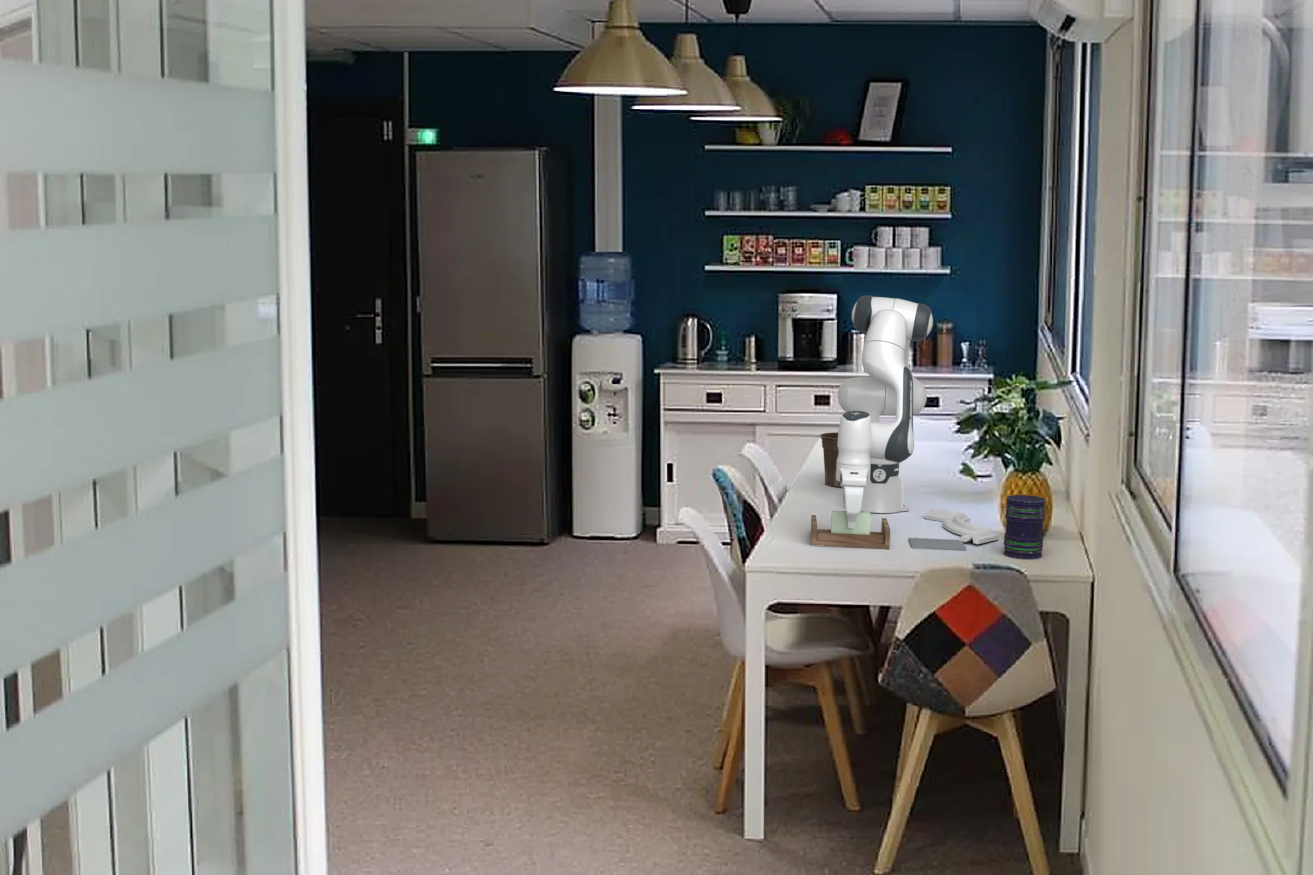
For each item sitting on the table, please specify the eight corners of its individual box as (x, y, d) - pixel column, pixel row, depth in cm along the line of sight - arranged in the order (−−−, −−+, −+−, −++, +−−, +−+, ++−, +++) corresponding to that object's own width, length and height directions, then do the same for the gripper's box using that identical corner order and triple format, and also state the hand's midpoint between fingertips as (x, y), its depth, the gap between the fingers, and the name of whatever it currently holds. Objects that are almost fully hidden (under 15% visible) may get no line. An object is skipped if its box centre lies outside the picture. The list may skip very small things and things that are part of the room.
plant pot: (813, 487, 514) (815, 436, 511) (823, 479, 529) (825, 430, 527) (864, 491, 509) (866, 440, 507) (872, 483, 524) (875, 434, 522)
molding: (920, 517, 468) (921, 507, 468) (961, 517, 470) (962, 507, 469) (963, 544, 426) (964, 533, 426) (1008, 545, 428) (1009, 534, 427)
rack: (810, 533, 437) (811, 514, 436) (885, 537, 435) (886, 518, 435) (811, 545, 421) (812, 526, 420) (889, 549, 420) (890, 529, 419)
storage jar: (1003, 558, 413) (1006, 500, 411) (1002, 550, 423) (1005, 494, 421) (1043, 560, 412) (1047, 502, 409) (1041, 553, 421) (1045, 496, 419)
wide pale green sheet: (830, 536, 426) (831, 510, 425) (868, 538, 425) (870, 512, 424) (830, 538, 423) (832, 512, 422) (869, 540, 423) (870, 514, 422)
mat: (908, 539, 433) (908, 537, 433) (961, 542, 432) (961, 540, 432) (911, 548, 422) (912, 545, 422) (966, 550, 421) (966, 548, 421)
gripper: (839, 467, 432) (837, 518, 434) (842, 479, 412) (839, 533, 414) (863, 468, 432) (860, 519, 434) (867, 480, 412) (864, 534, 414)
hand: (850, 526), depth 424 cm, fingers closed on wide pale green sheet, 2 cm apart
